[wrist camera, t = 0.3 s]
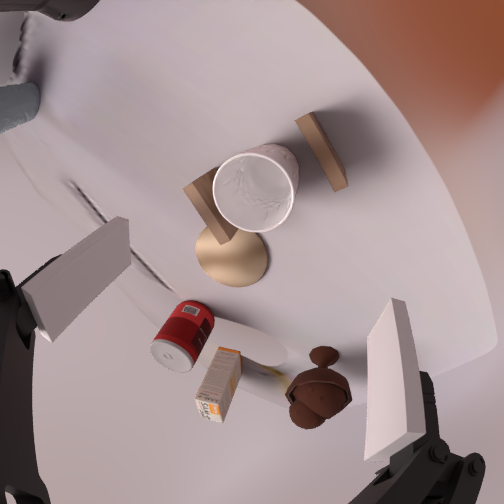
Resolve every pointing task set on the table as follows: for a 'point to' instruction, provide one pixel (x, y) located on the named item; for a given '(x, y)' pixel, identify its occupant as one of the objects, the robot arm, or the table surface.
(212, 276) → the cork coaster
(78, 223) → the table surface
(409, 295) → the table surface
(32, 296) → the robot arm
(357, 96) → the table surface
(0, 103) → the grey green cup
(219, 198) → the white cup
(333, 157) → the walnut cradle
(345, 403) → the ice cream bowl
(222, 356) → the supplement box
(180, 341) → the canned food
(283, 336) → the table surface
